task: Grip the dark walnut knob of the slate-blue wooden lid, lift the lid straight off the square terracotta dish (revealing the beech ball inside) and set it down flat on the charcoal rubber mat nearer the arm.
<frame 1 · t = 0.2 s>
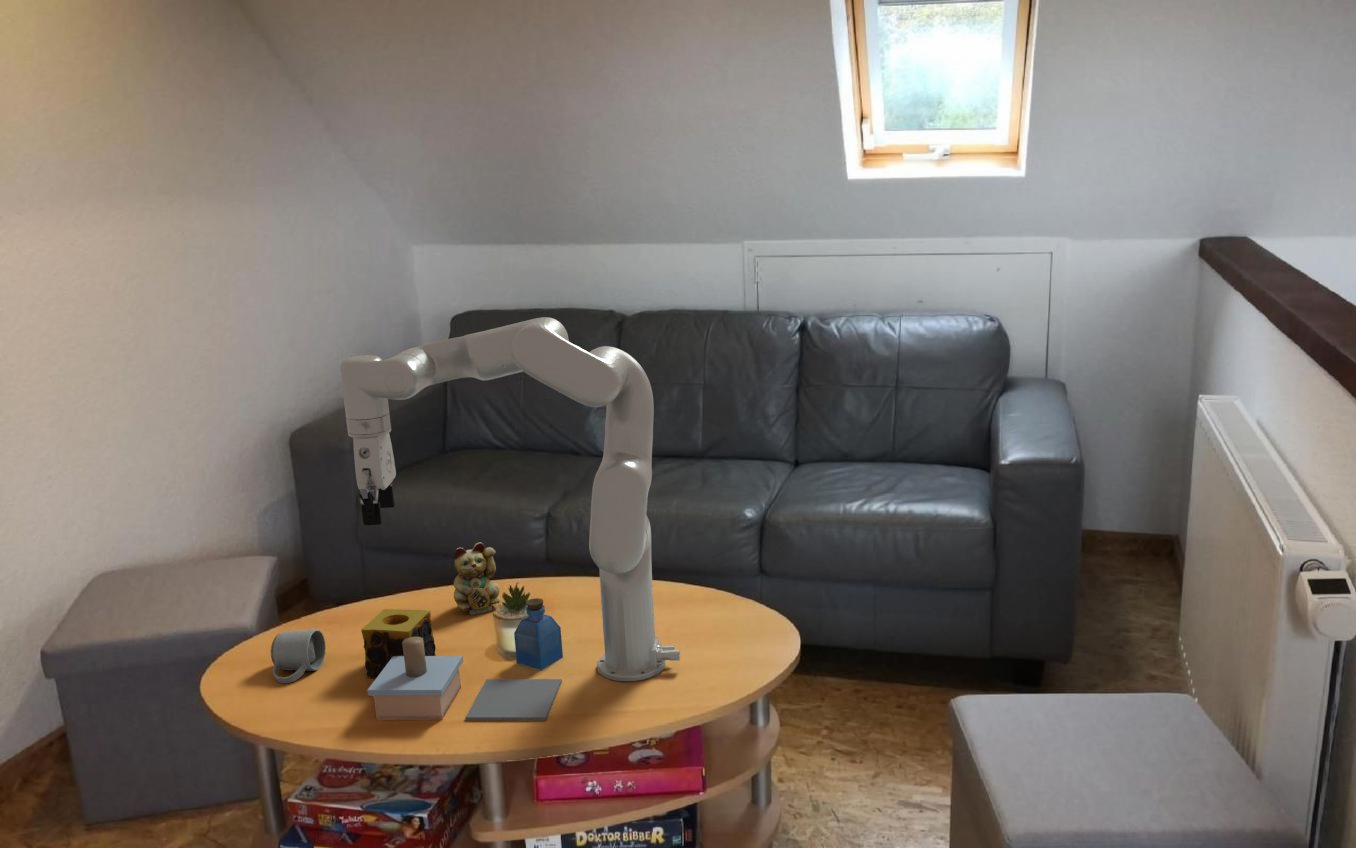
hand: (379, 515, 205), 31 cm above the table, fingers open, 9 cm apart
decorative figurine: (477, 609, 240), on the table
ceramic mug: (298, 672, 214), on the table
lid: (417, 677, 198), point 5 cm above the table, touching dish
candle: (402, 669, 213), on the table
perfume bottle: (540, 661, 214), on the table
dish: (420, 703, 199), on the table
mat: (515, 700, 198), on the table
ball: (418, 690, 198), point 3 cm above the table, touching dish
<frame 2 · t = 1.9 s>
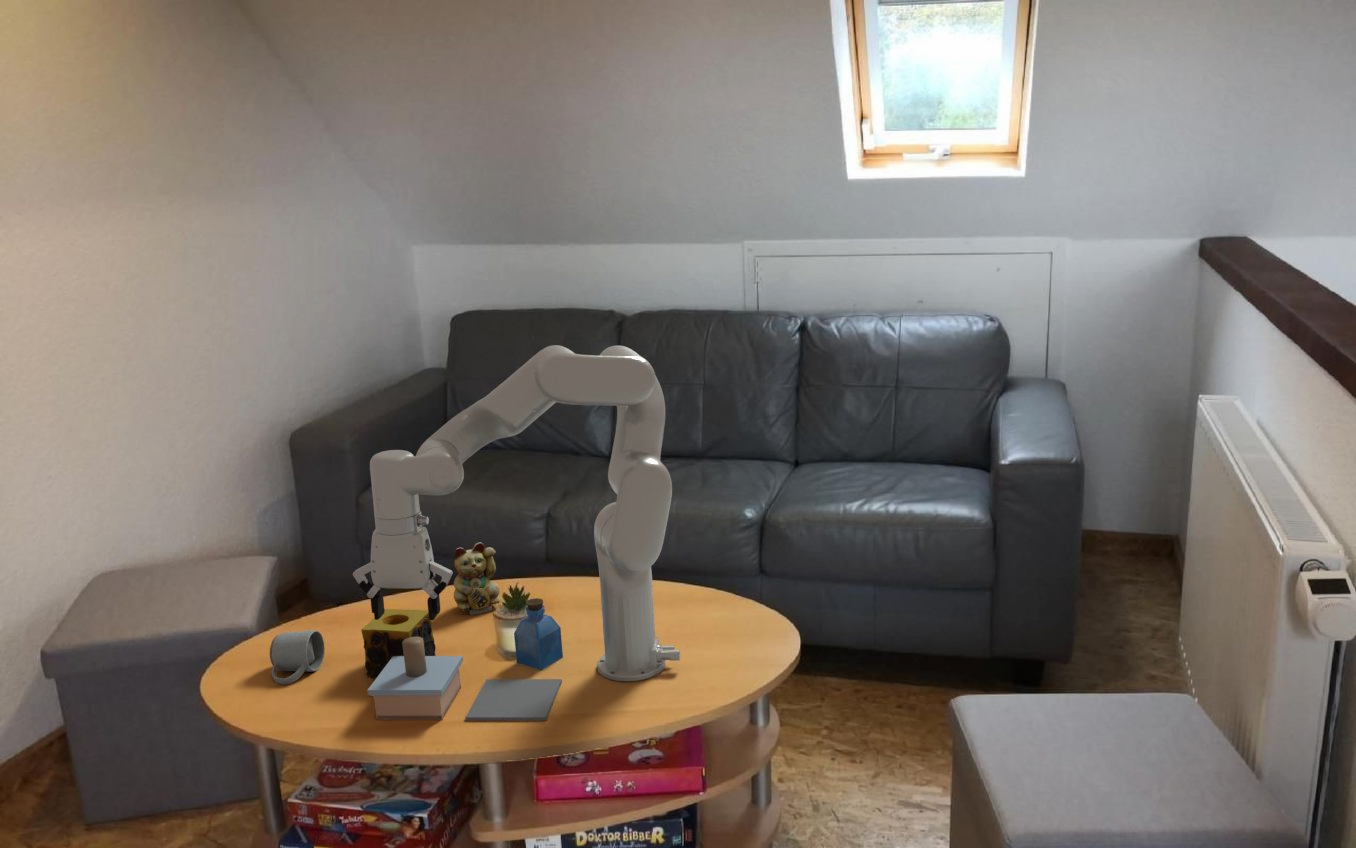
hand: (406, 617, 195), 17 cm above the table, fingers open, 9 cm apart
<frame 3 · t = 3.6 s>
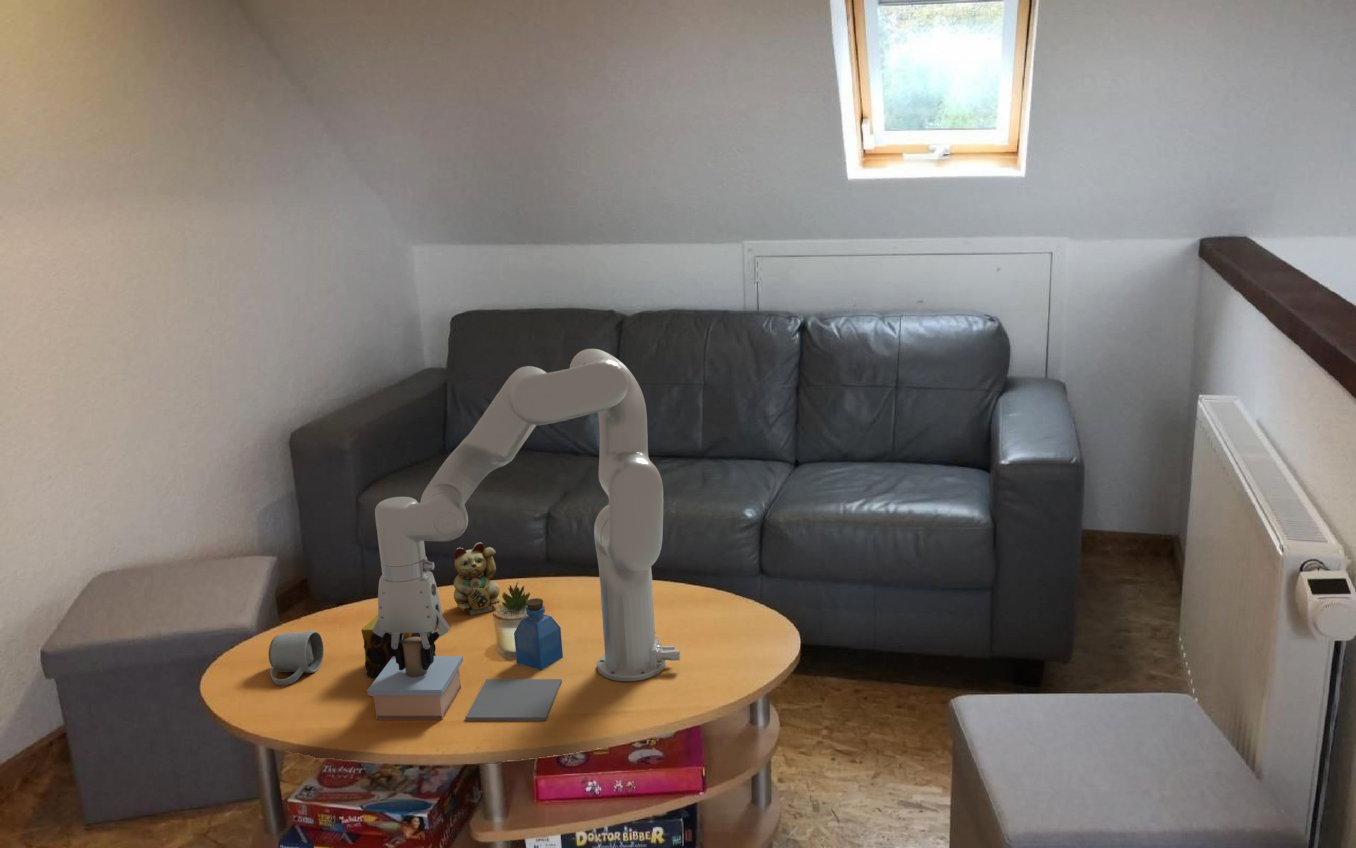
hand: (415, 666, 197), 7 cm above the table, fingers closed on lid, 3 cm apart
lid: (417, 677, 198), point 5 cm above the table, touching dish, gripper
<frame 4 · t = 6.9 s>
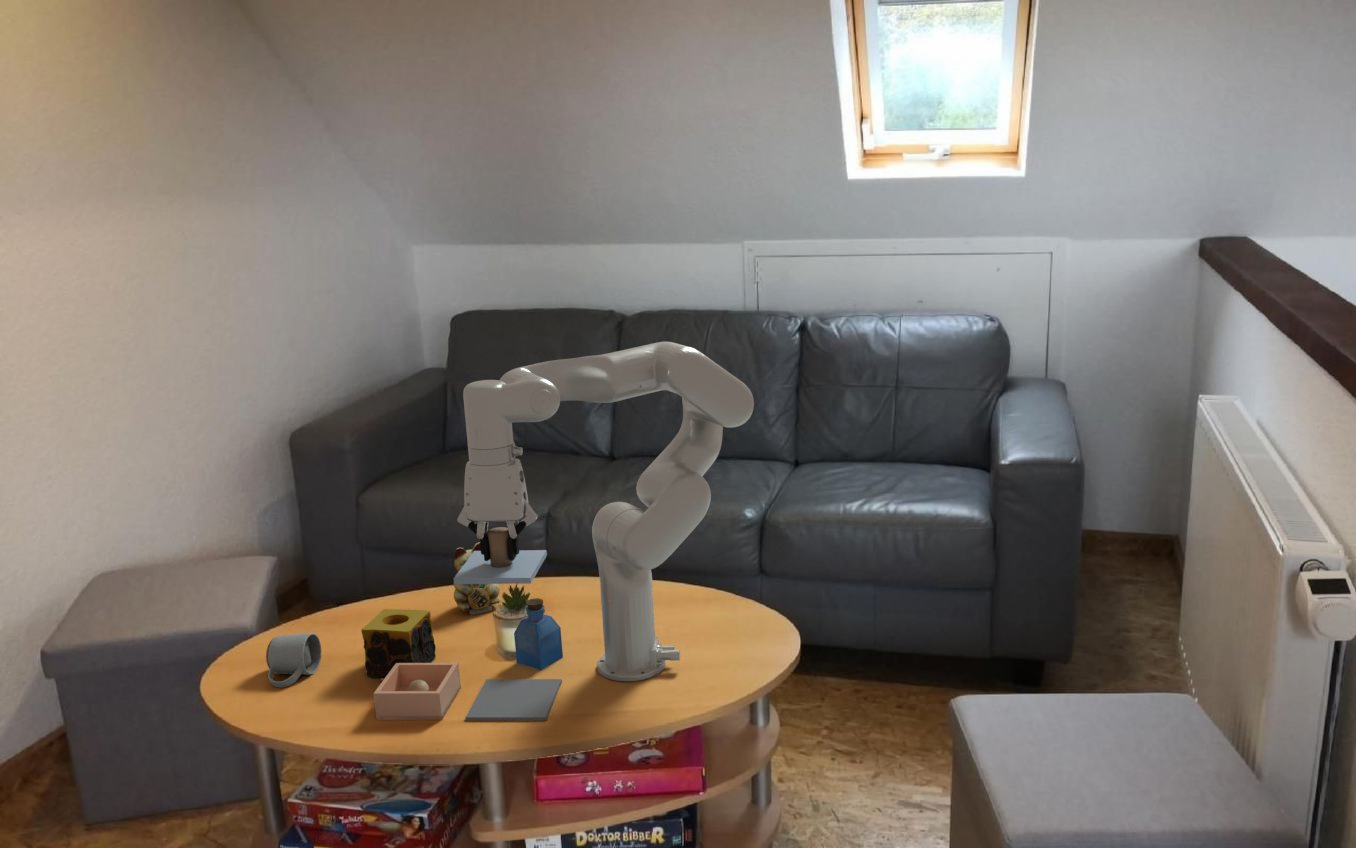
hand: (500, 557, 192), 27 cm above the table, fingers closed on lid, 3 cm apart
lid: (501, 569, 192), point 25 cm above the table, touching gripper
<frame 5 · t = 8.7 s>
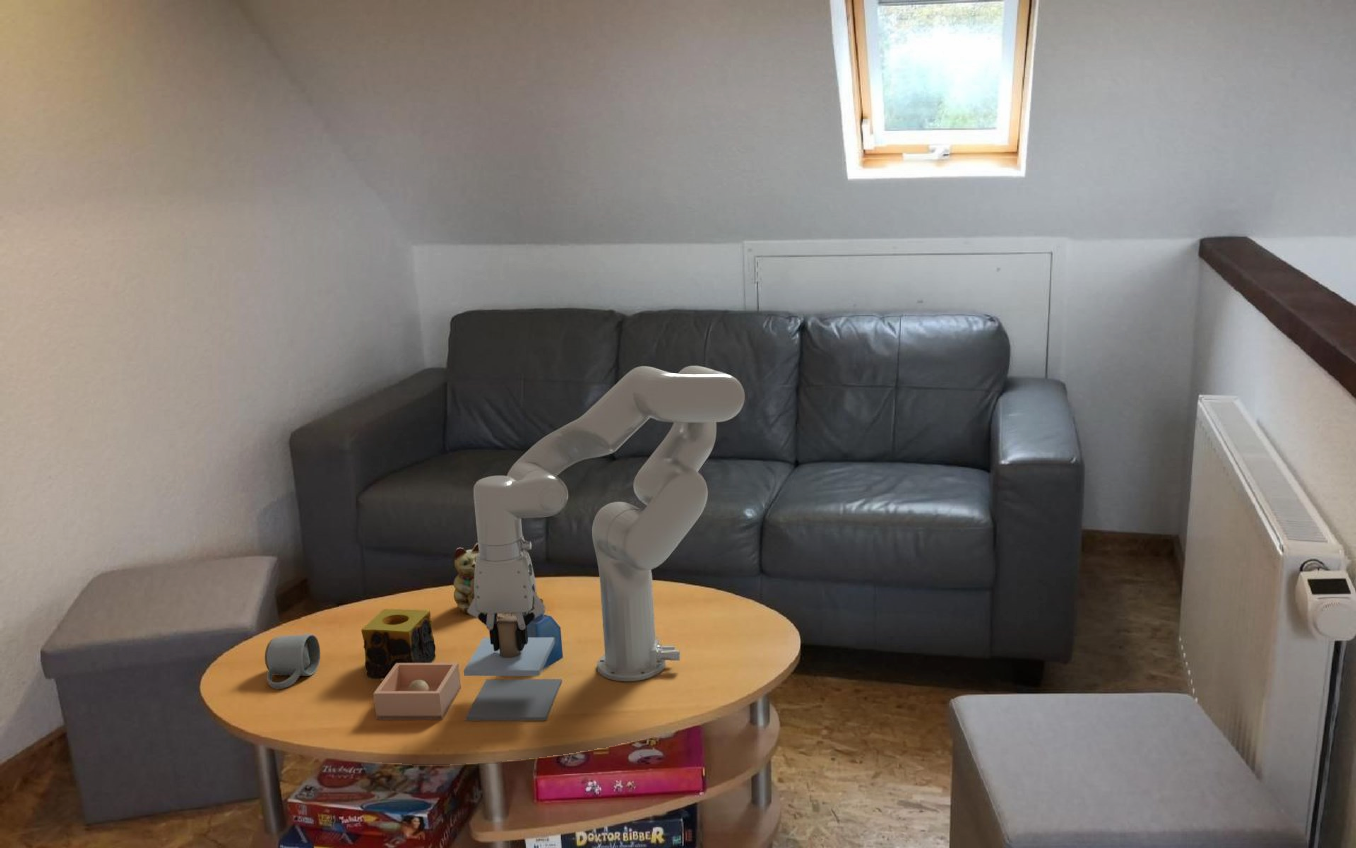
hand: (509, 646, 196), 10 cm above the table, fingers closed on lid, 3 cm apart
lid: (510, 658, 196), point 8 cm above the table, touching gripper
when the fingers open (4 cm above the table, at t = 10.2 s): lid drops 1 cm, resting on mat.
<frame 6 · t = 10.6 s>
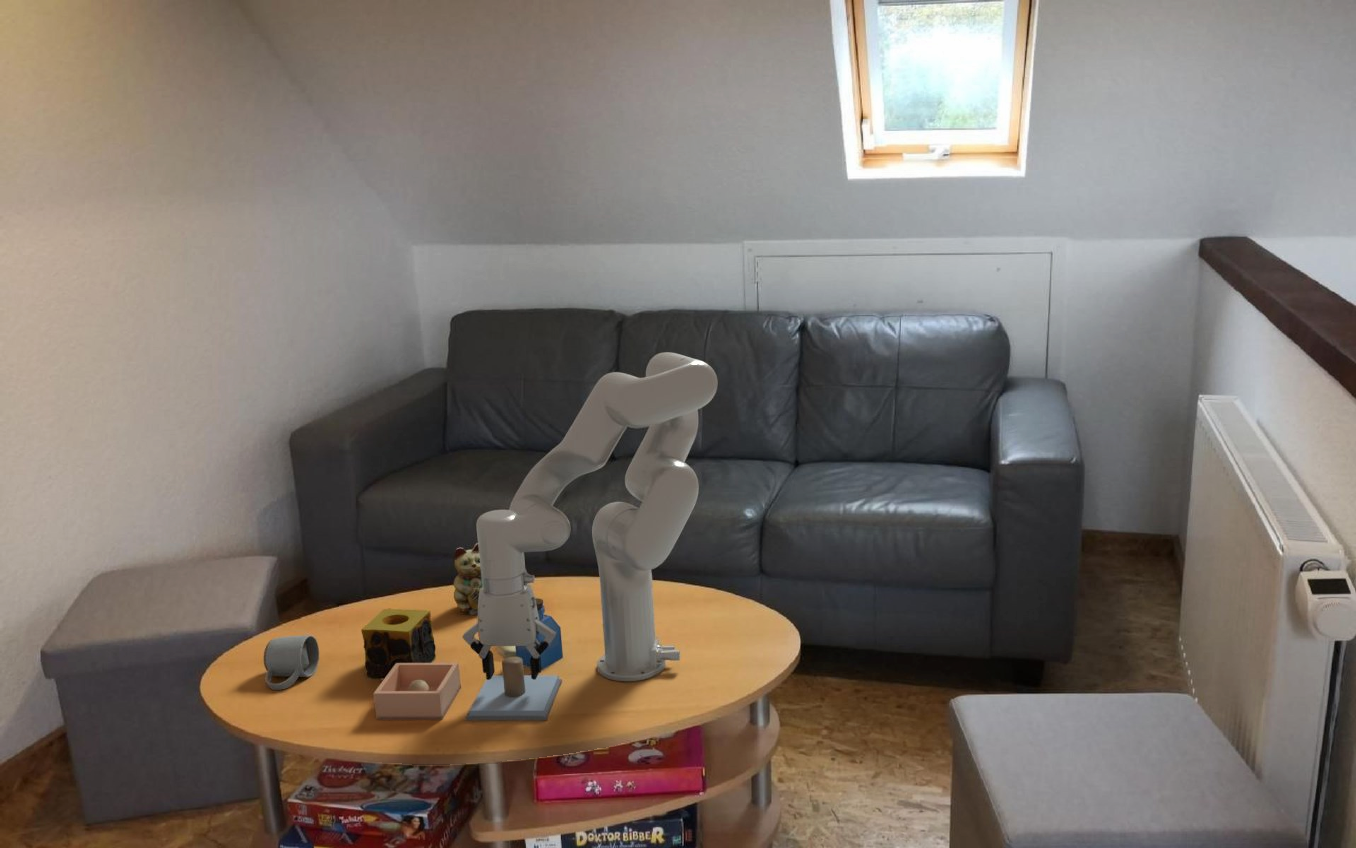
hand: (512, 675, 197), 5 cm above the table, fingers open, 7 cm apart
lid: (515, 697, 198), point 1 cm above the table, touching mat
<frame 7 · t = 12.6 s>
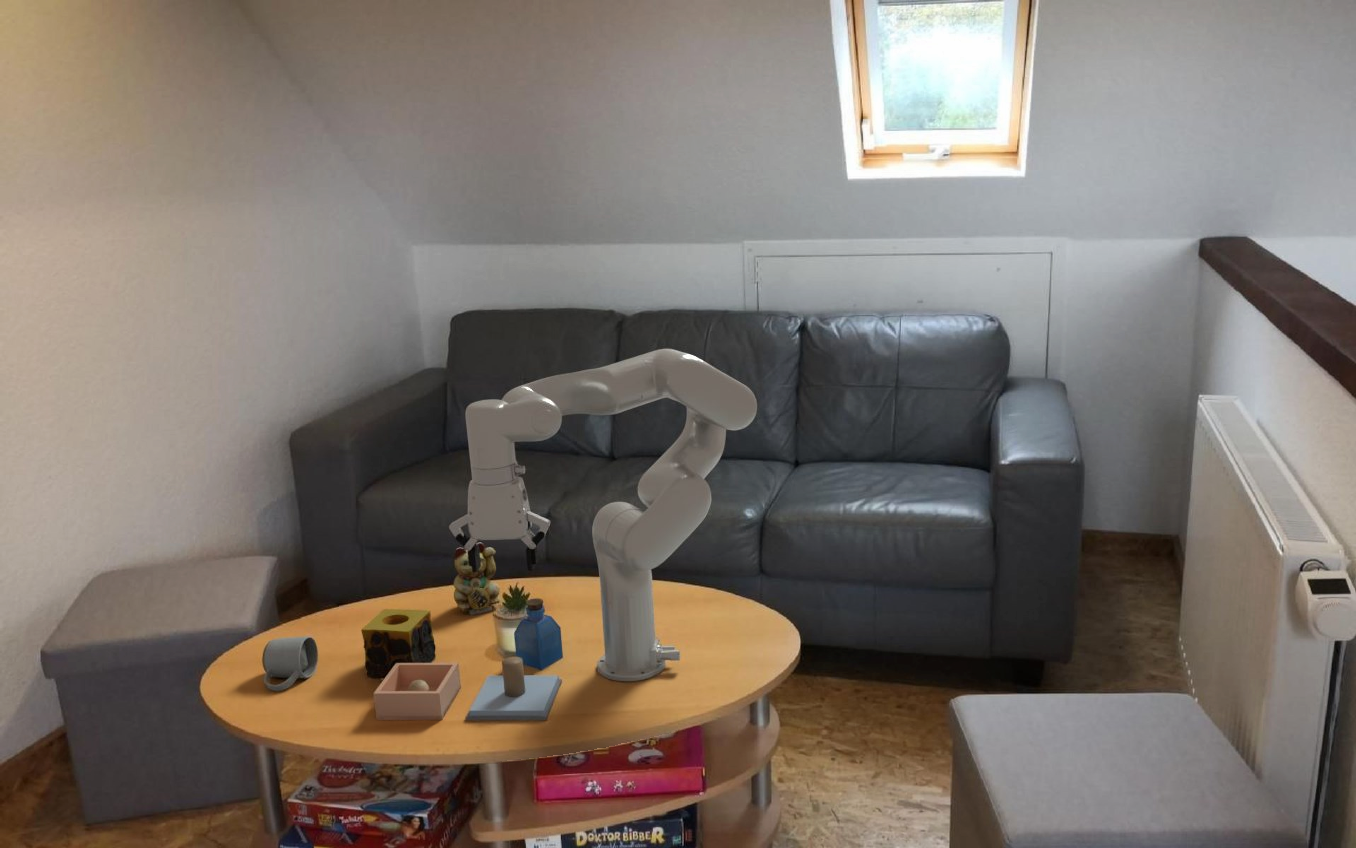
hand: (504, 568, 193), 25 cm above the table, fingers open, 9 cm apart
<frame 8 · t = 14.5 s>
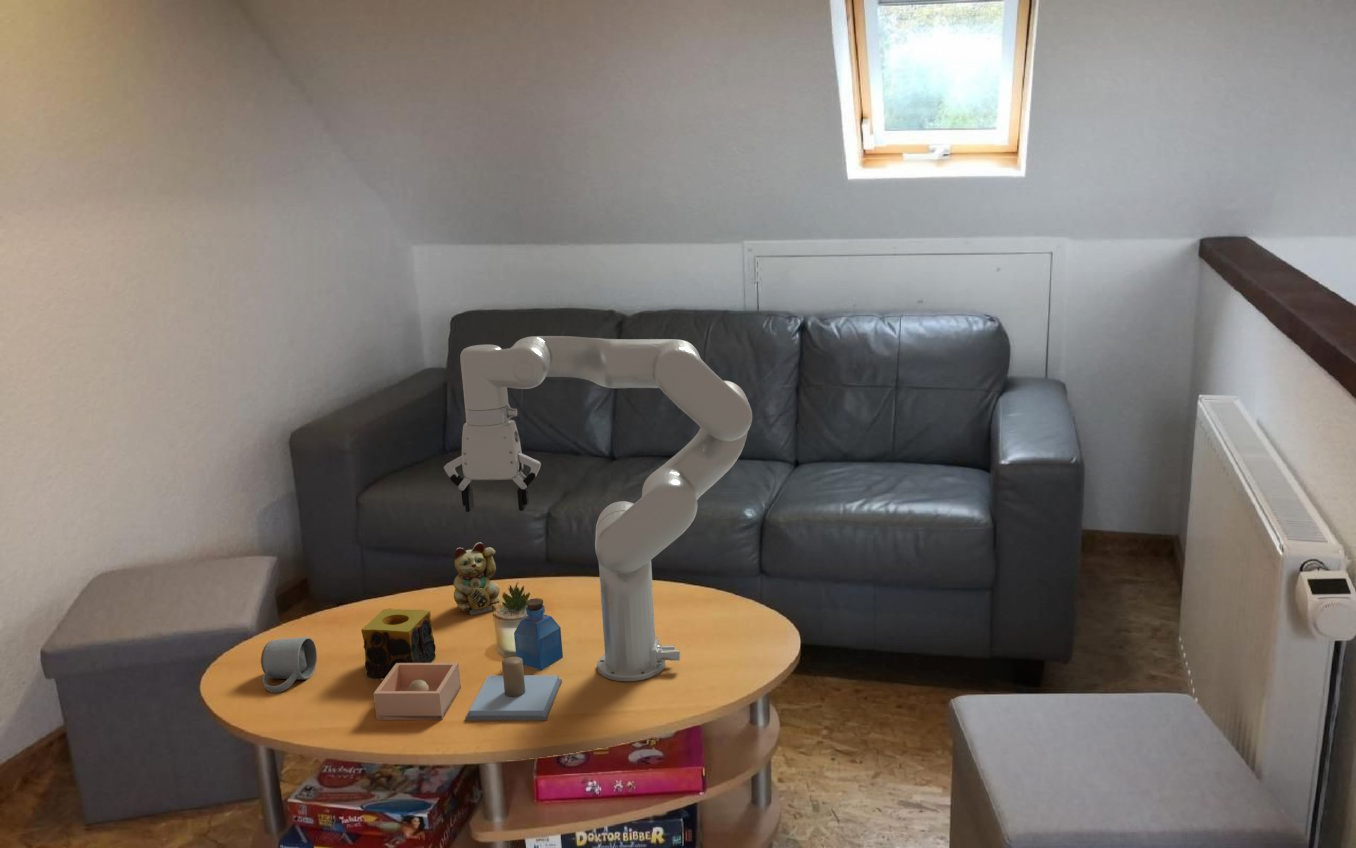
hand: (496, 509, 200), 32 cm above the table, fingers open, 9 cm apart
at the end: lid inside the target area on the mat (0.1 cm from its centre), point 0.6 cm above the mat's base; lid tilted 0°; lid touching mat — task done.
